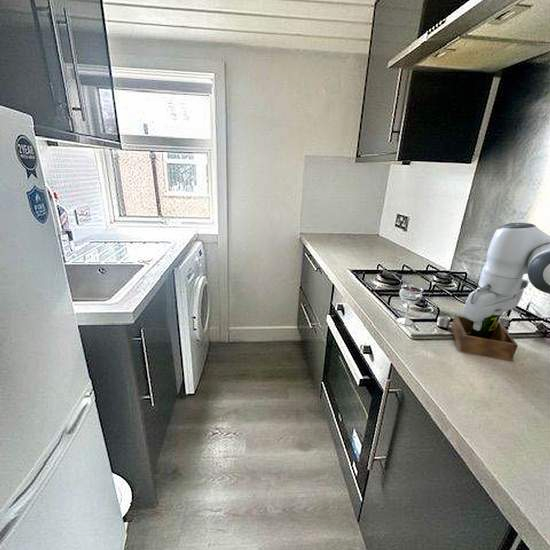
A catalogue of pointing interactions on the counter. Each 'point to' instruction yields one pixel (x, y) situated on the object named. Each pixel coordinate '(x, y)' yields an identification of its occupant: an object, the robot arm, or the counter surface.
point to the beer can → (488, 326)
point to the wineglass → (409, 299)
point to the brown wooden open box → (483, 340)
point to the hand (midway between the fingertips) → (484, 326)
